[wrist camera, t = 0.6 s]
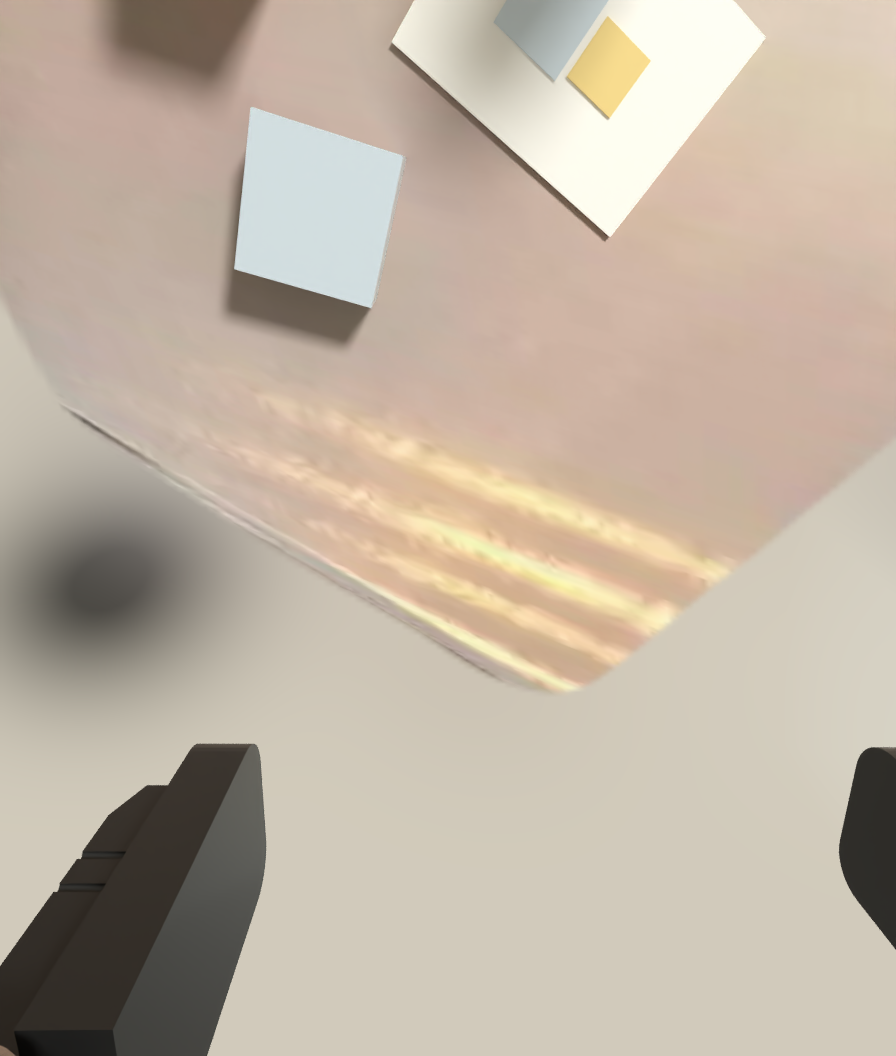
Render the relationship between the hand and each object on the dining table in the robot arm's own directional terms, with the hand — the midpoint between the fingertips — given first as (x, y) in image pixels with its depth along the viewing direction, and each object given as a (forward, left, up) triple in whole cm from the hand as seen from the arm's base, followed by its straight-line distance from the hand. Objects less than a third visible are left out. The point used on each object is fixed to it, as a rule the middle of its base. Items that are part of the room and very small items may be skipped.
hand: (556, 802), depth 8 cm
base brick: (-9, -1, -26) cm, 28 cm away
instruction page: (-6, +11, -26) cm, 29 cm away
